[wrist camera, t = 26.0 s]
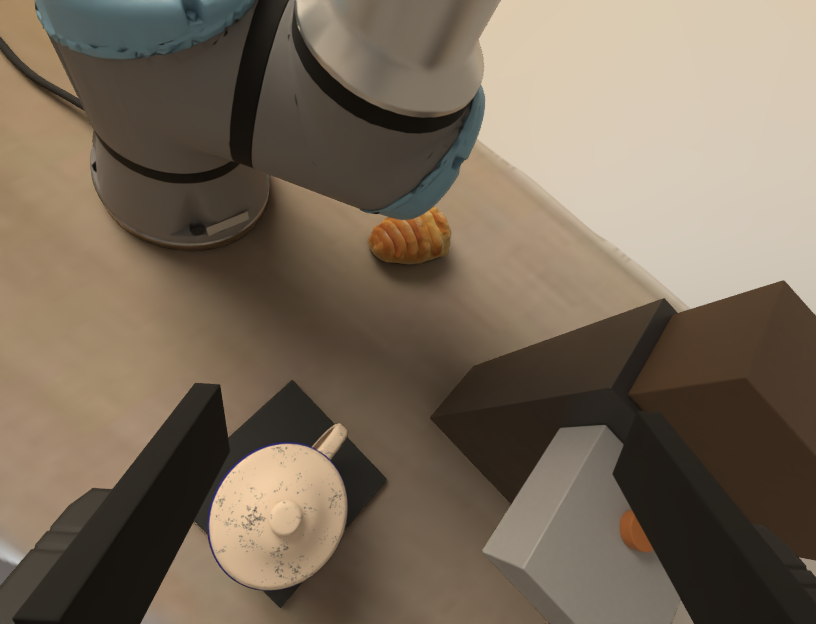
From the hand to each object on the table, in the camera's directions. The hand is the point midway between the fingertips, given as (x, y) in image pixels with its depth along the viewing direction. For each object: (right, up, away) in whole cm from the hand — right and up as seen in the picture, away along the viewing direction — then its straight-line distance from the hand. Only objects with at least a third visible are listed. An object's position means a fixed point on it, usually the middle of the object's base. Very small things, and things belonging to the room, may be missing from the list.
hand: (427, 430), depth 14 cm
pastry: (-1, +12, +36) cm, 38 cm away
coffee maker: (+6, -13, +30) cm, 33 cm away
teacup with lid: (-11, -11, +23) cm, 28 cm away
